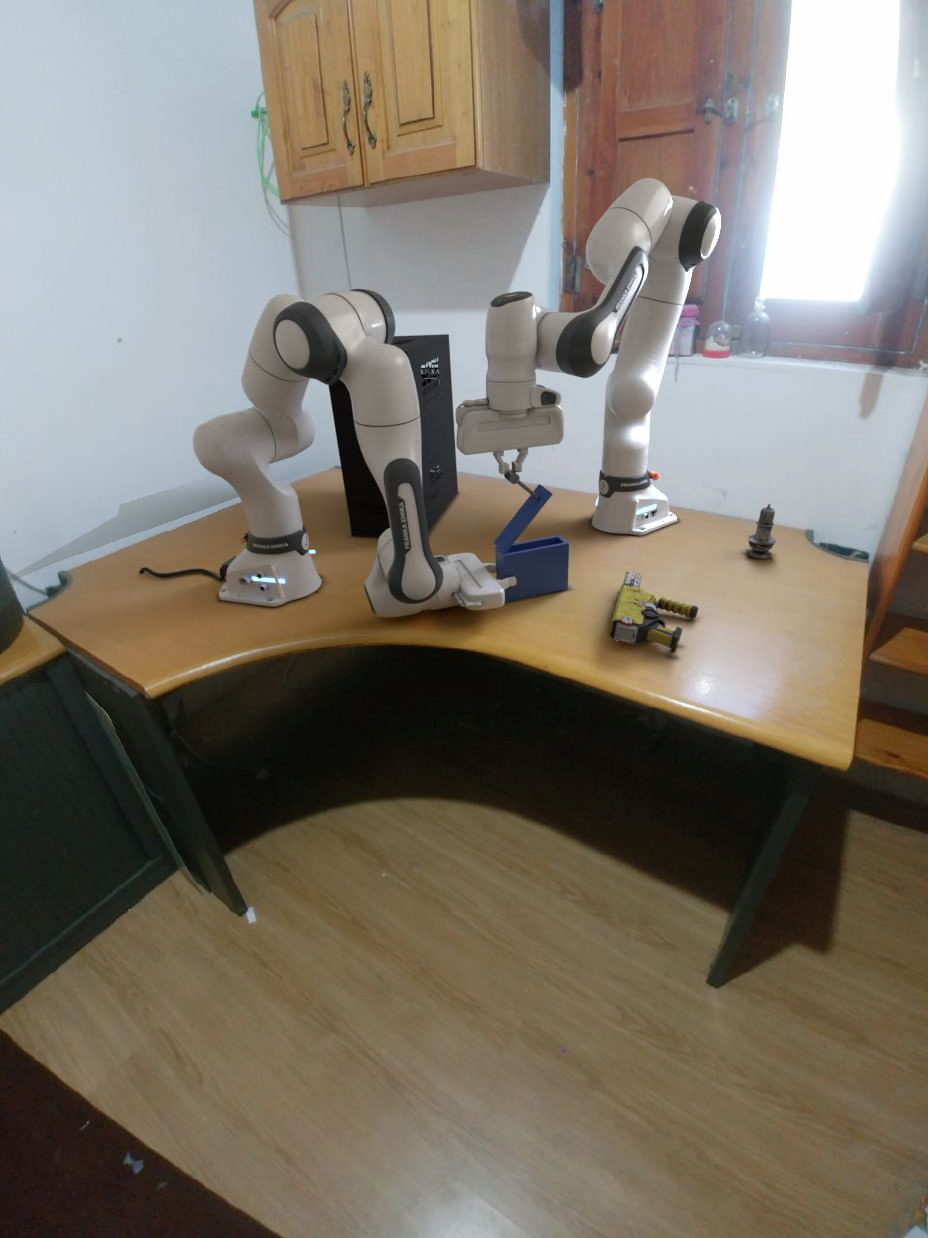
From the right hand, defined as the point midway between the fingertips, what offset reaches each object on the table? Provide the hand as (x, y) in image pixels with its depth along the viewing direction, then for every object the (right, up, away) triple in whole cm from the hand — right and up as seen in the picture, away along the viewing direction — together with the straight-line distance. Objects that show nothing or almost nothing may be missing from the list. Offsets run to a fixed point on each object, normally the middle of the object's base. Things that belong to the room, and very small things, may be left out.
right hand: (510, 472), depth 114 cm
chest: (+6, -22, +15) cm, 27 cm away
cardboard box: (-25, +3, +61) cm, 66 cm away
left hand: (+1, -18, +11) cm, 21 cm away
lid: (+3, -8, +6) cm, 11 cm away
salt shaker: (+59, -13, +25) cm, 65 cm away
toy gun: (+28, -28, +2) cm, 40 cm away
